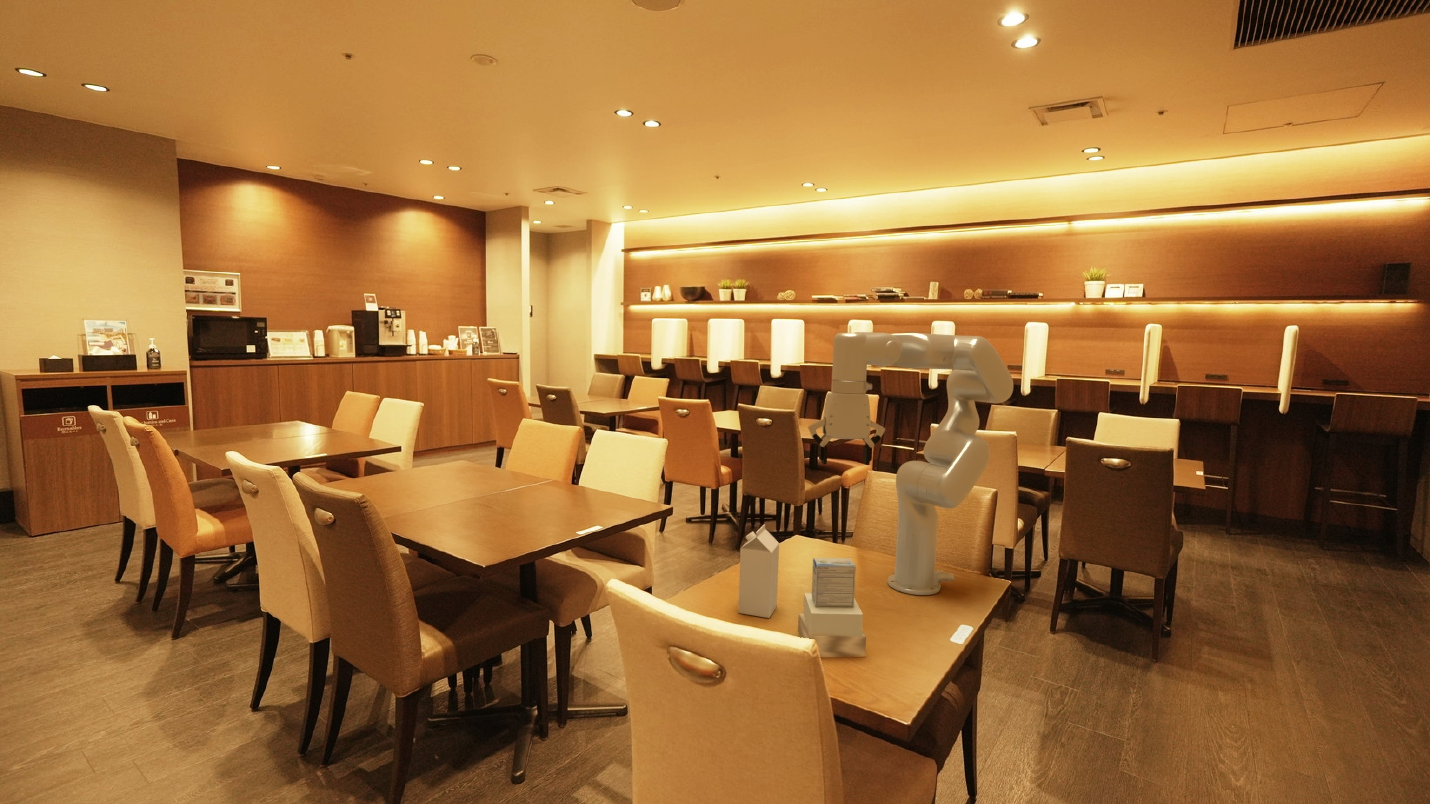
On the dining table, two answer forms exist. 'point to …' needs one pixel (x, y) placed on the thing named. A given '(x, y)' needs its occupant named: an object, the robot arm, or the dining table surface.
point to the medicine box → (833, 582)
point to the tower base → (834, 642)
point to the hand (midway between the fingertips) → (844, 463)
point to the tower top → (832, 619)
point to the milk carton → (758, 574)
